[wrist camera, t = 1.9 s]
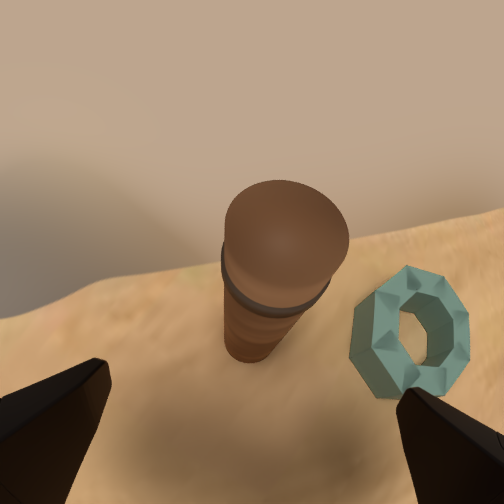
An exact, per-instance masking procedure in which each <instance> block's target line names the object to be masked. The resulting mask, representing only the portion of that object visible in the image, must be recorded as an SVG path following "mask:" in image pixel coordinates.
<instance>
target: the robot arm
mask: <svg viewBox="0 0 504 504" xmlns="http://www.w3.org/2000/svg"><path fill="white" fill-rule="evenodd" d="M111 387H112V381H111V376H110V370H109V365H108V363H107V361H105V360H102V359H99V358H92V359H90V360H87V361H85V362H83V363H81V364H78V365H76V366H74V367H72V368H69V369H67V370H65V371H62V372H60V373H58V374H56V375H53V376H51V377H49V378H46V379H44V380H42V381H39V382H37V383H35V384H32V385H30V386H27V387H25V388H23V389H20V390H18V391H15V392H13V393H10V394H8V395H6V396H3V397H2V399H1V398H0V504H65V502H66V499H67V497H68V494H69V492H70V489H71V487H72V484H73V482H74V480H75V477H76V475H77V473H78V470H79V468H80V466H81V463H82V461H83V459H84V457H85V455H86V452H87V450H88V448H89V446H90V444H91V441H92V439H93V437H94V435H95V433H96V430H97V428H98V425H99V422H100V419H101V416H102V413H103V410H104V407H105V405H106V402H107V399H108V396H109V393H110V390H111ZM396 415H397V419H398V424H399V429H400V434H401V439H402V444H403V449H404V453H405V456H406V460H407V463H408V467H409V470H410V474H411V477H412V481H413V485H414V489H415V493H416V497H417V501H418V504H504V435H502V434H500V433H499V432H496V431H495V430H493V429H491V428H489V427H488V426H486V425H484V424H482V423H480V422H479V421H477V420H475V419H473V418H472V417H470V416H468V415H466V414H465V413H463V412H461V411H459V410H458V409H456V408H454V407H452V406H451V405H449V404H447V403H446V402H444V401H442V400H440V399H439V398H437V397H435V396H434V395H432V394H430V393H429V392H427V391H425V390H424V389H422V388H420V387H410V388H407V389H406V390H405V392H404V394H403V396H402V398H401V399H400V401H399V403H398V405H397V407H396Z"/></svg>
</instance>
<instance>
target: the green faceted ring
mask: <svg viewBox="0 0 504 504" xmlns="http://www.w3.org/2000/svg"><path fill="white" fill-rule="evenodd" d="M354 310H355V311H354V321H353V330H352V339H351V347H350V354H349V358H350V360H351V361H352V363H353V364H354V366H355V367H356V369H357V370H358V371H359V373H360V374H361V376H362V377H363V379H364V380H365V382H366V383H367V385H368V386H369V388H370V389H371V391H372V392H373V394H374V395H375V397H376V398H385V399H401V398H402V396H403V394H404V392H405V390H406V389H407V388H410V387H420V388H422V389H424V390H425V391H427V392H429V393H430V394H432V395H434V396H435V397H441V396H445V394H446V393H447V392H448V390H449V389H450V388H451V387H452V385H453V384H454V382H455V381H456V380H457V378H458V377H459V376H460V374H461V373H462V371H463V370H464V368H465V367H466V365H467V364H468V362H469V361H470V329H469V313H468V312H467V310H466V309H465V307H464V305H463V304H462V302H461V301H460V299H459V298H458V296H457V295H456V293H455V292H454V290H453V289H452V287H451V286H450V285H449V283H448V282H447V280H446V279H445V277H444V276H441V275H437V274H434V273H431V272H428V271H424V270H421V269H418V268H414V267H411V266H408V265H406V266H405V267H404V268H403V269H402V270H401V271H399V272H398V273H397V274H396V275H395V276H393V277H392V278H391V279H390V280H388V281H387V282H386V283H385V284H383V285H382V286H381V287H380V288H378V289H377V290H375V291H374V292H373V293H372V294H370V295H369V296H368V297H367V298H366V299H365V300H364V301H362V302H361V303H360V304H359V305H358V306H357V307H356V308H355V309H354ZM399 310H401V311H406V312H410V313H414V314H415V315H416V317H417V318H418V320H419V321H420V323H421V324H422V326H423V327H424V329H425V330H426V332H427V333H428V340H427V359H426V360H425V361H424V362H423V363H422V365H421V366H420V365H415V364H414V362H413V361H412V359H411V357H410V356H409V354H408V353H407V351H406V350H405V348H404V347H403V345H402V344H401V342H400V341H399V340H398V336H399Z"/></svg>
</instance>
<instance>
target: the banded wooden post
mask: <svg viewBox="0 0 504 504" xmlns="http://www.w3.org/2000/svg"><path fill="white" fill-rule="evenodd" d="M348 247H349V233H348V228H347V225H346V222H345V220H344V218H343V216H342V214H341V212H340V211H339V209H338V208H337V207H336V206H335V204H334V203H332V201H331V200H329V199H328V198H327V197H326V196H325V195H323V194H321V193H320V192H319V191H317V190H315V189H313V188H311V187H309V186H306V185H304V184H301V183H297V182H292V181H286V180H272V181H265V182H261V183H257V184H254V185H252V186H250V187H248V188H247V189H245V190H243V191H242V192H241V193H240V194H238V195H237V196H236V198H234V200H233V201H232V203H231V204H230V206H229V208H228V211H227V214H226V217H225V239H224V242H223V246H222V251H221V273H222V278H223V281H224V341H225V346H226V349H227V351H228V352H229V354H230V355H231V356H232V357H234V358H235V359H236V360H238V361H241V362H244V363H255V362H259V361H261V360H263V359H264V358H266V357H267V356H268V355H269V354H270V352H271V351H272V350H273V349H274V348H275V347H276V346H277V344H278V343H279V342H280V341H281V340H282V338H283V337H284V336H285V335H286V334H287V333H288V331H289V330H290V329H291V328H292V327H293V325H294V324H295V323H296V322H297V320H298V319H299V318H300V317H301V316H302V314H303V313H304V312H305V311H306V310H308V309H309V308H310V307H312V306H313V305H314V304H315V303H316V302H317V300H318V299H319V298H320V297H321V296H322V294H323V293H324V292H325V290H326V289H327V287H328V285H329V283H330V281H331V278H332V276H333V275H334V273H335V272H336V270H337V269H338V268H339V266H340V265H341V264H342V262H343V261H344V259H345V257H346V254H347V251H348Z"/></svg>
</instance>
